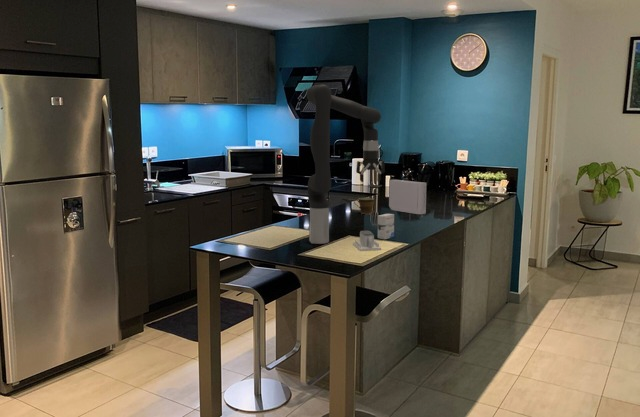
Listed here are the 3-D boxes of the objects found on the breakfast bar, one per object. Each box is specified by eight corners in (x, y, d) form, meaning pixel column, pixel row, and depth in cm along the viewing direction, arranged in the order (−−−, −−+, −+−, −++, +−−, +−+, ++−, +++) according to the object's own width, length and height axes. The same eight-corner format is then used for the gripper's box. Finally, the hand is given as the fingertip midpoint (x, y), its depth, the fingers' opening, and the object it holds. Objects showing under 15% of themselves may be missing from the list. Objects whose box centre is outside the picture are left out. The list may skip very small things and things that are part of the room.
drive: (364, 247, 263) (364, 234, 262) (359, 243, 272) (359, 230, 271) (373, 246, 264) (374, 234, 263) (369, 242, 272) (369, 230, 271)
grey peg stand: (359, 250, 260) (360, 237, 259) (353, 244, 274) (353, 232, 273) (381, 249, 262) (381, 237, 261) (373, 243, 275) (373, 231, 274)
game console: (419, 214, 361) (420, 183, 358) (388, 209, 382) (389, 180, 379) (425, 213, 364) (426, 182, 361) (394, 208, 385) (395, 179, 382)
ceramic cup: (373, 212, 368) (373, 197, 367) (375, 215, 358) (375, 199, 357) (353, 213, 368) (353, 197, 366) (354, 215, 358) (354, 199, 356)
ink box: (386, 235, 295) (386, 213, 293) (394, 236, 291) (394, 214, 290) (377, 238, 288) (377, 215, 286) (385, 239, 285) (385, 216, 283)
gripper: (358, 150, 282) (358, 182, 284) (386, 149, 284) (386, 182, 287) (355, 149, 289) (355, 181, 292) (382, 149, 292) (382, 180, 294)
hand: (370, 181), depth 289 cm, fingers open, 8 cm apart
